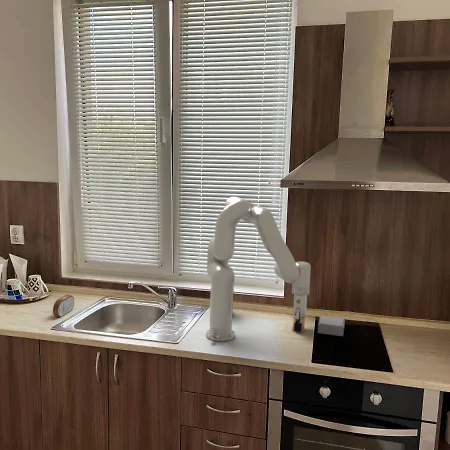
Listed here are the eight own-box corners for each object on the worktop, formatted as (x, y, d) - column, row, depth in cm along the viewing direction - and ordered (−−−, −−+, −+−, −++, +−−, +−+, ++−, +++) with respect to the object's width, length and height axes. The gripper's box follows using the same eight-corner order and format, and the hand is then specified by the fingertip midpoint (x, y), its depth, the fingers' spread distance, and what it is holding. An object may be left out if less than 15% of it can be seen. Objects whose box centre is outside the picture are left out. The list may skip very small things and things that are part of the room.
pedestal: (343, 336, 198) (343, 326, 197) (317, 332, 201) (318, 323, 200) (344, 327, 208) (344, 318, 208) (319, 324, 211) (320, 315, 211)
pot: (303, 333, 200) (304, 318, 198) (291, 332, 201) (292, 316, 200) (305, 329, 205) (306, 314, 204) (293, 327, 206) (293, 312, 205)
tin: (69, 308, 223) (69, 292, 221) (75, 309, 222) (75, 292, 221) (52, 319, 208) (51, 301, 207) (58, 319, 207) (58, 302, 206)
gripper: (306, 296, 191) (304, 337, 194) (311, 285, 207) (309, 323, 210) (289, 294, 193) (287, 334, 196) (294, 283, 209) (292, 321, 212)
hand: (298, 328), depth 203 cm, fingers closed on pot, 5 cm apart
